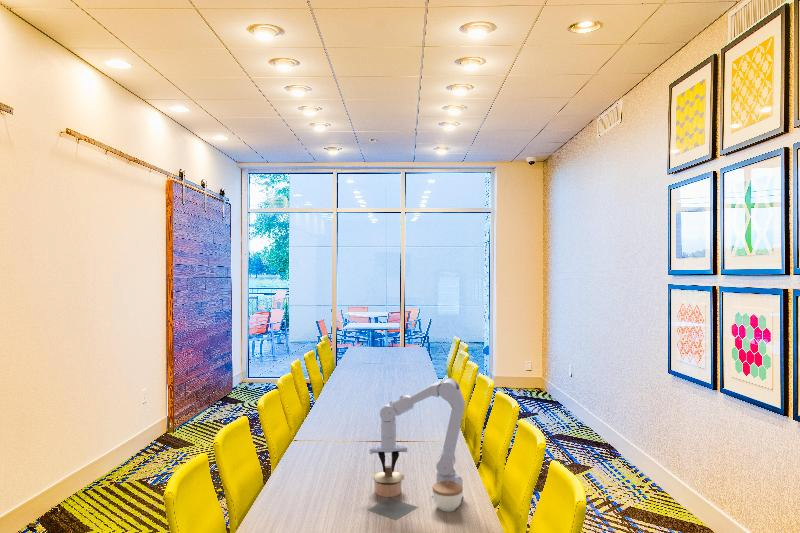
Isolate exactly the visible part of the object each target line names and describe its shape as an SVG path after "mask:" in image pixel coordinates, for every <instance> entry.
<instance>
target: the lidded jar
mask: <svg viewBox="0 0 800 533" xmlns="http://www.w3.org/2000/svg"><path fill="white" fill-rule="evenodd" d="M463 489H464V488H462V486H461V485H460V484H459V483H456V482H452V481H441V482H437V481H436V483H435V482H434V484H433V485H432V495H433V497H432V498H433V501H434V503H435V505H436V506H437V508H438V509H440V510H441V511H442V512H447V513H448V512H449V513H450V512H454V511H456V510H457V508H458V507H459V506H460V505H461V503H462V499H463V497H462V490H463ZM463 491H464V490H463Z"/></svg>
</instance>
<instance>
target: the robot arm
mask: <svg viewBox="0 0 800 533" xmlns="http://www.w3.org/2000/svg"><path fill="white" fill-rule="evenodd" d="M460 386H461V385H459V383H458V382H457V381H456V380H455V379H454V378H451V377H445V378H444V379H443V380H438V381H436V382H434V383H432V384H430V385H428V386H426V387H425V388H423V389H421V390H419V391H417V392H416V393H414V394H412V395H408V394H406V395H404V394H401V395H400V396H399V398H397V399H395V400H393V401H392V400H391V401H389V402H388V403H386V404H384V406H383V407H382V408H381V409H380V411H379V417H380V419H381V422H380V424H381V425H380V445H377V446H371V447H369V454H370V455H373V454H377V455H378V457H379V460H380V462H381V465H382V472H385V466H386V453H387V454H388V453H391V465H390V466H392V472H395V467H396V464H397V461H398V459H399V457H400V453H408V446H407V445H397V421H396V420H397V419H396V417H399V416H401V415H402V414H405V413H407V412H409V411H411V410H413V409H414V406H415V404H417V403H420V402H421V401H423V400H425V399H428V398H430V397H435V398H439V397H441V398H442V399H443V400H444V401H446V402H447V403H448V404H449V406H450V407H451V411H450V415H449V416H450V417H449V421H448V425H447V430H446V434H445V439H444V443H443V448H442V452H441V454H440V455H439V458H438V461H437V463H436V466H435V467H436V468H435V469H436V483H437V482H441V481H452V482H456V483H459V484H460V485H461V486H462V488H463V478H462V477H461V476H460V475H458V474H457V472H456V470H455V468H454V467H455V465H456V456H455V454H456V448H457V443H458V439H459V434H460V429H461V426H462V420H463V415H464V411H465V407H466V401H465V398H464V397H463V393H462V391H461V388H460ZM463 489H464V488H463ZM463 491H464V490H462V498H464V494H463V493H464V492H463ZM431 498H433V494H432V495H431Z"/></svg>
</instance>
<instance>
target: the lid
mask: <svg viewBox="0 0 800 533" xmlns="http://www.w3.org/2000/svg"><path fill="white" fill-rule="evenodd" d="M404 479H405V475H404V474H403V473H402V472H397V471H394V472H392V466H391V465H385V472H383V471H380V472H377V473H375V474H374V473H373V475H372V480H373V481H374V482H375V481H376V482H380V483H396V482H400V481H403V480H404Z"/></svg>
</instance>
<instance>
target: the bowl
mask: <svg viewBox="0 0 800 533" xmlns="http://www.w3.org/2000/svg"><path fill="white" fill-rule="evenodd" d="M402 481H403V480H402ZM402 481H400V482H396V483H380V482H376V481H374V493H375V494H376V496H377V495H378V496H380V497H382V498H383V497H387V498H391V497H392V498H393V497H397V496H399V495H401V493H402V490H403V489H402V488H403V487H402V486H403V482H402Z"/></svg>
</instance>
